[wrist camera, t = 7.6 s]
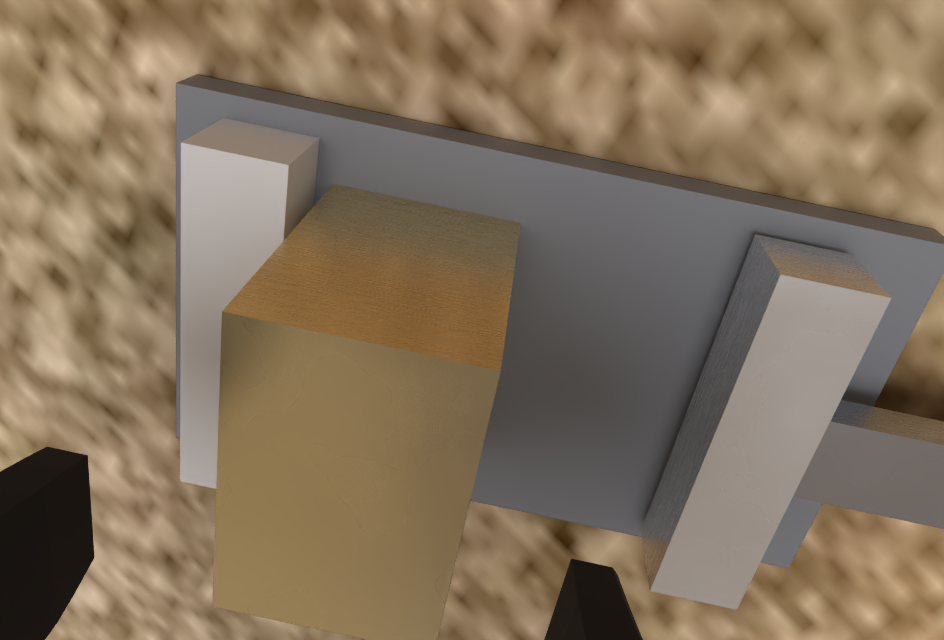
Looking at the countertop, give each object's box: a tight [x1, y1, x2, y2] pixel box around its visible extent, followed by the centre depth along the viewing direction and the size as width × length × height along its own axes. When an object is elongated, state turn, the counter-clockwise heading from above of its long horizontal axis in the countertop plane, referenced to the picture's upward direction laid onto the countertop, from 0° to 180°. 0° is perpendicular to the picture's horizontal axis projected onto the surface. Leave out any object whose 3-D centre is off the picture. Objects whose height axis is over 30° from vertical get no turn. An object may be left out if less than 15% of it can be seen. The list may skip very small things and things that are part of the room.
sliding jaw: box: [642, 234, 944, 610], centre depth 16 cm, size 8×10×2 cm
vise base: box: [176, 75, 944, 568], centre depth 17 cm, size 9×16×3 cm, turn 79°
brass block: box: [213, 184, 520, 640], centre depth 15 cm, size 6×4×6 cm, turn 169°
